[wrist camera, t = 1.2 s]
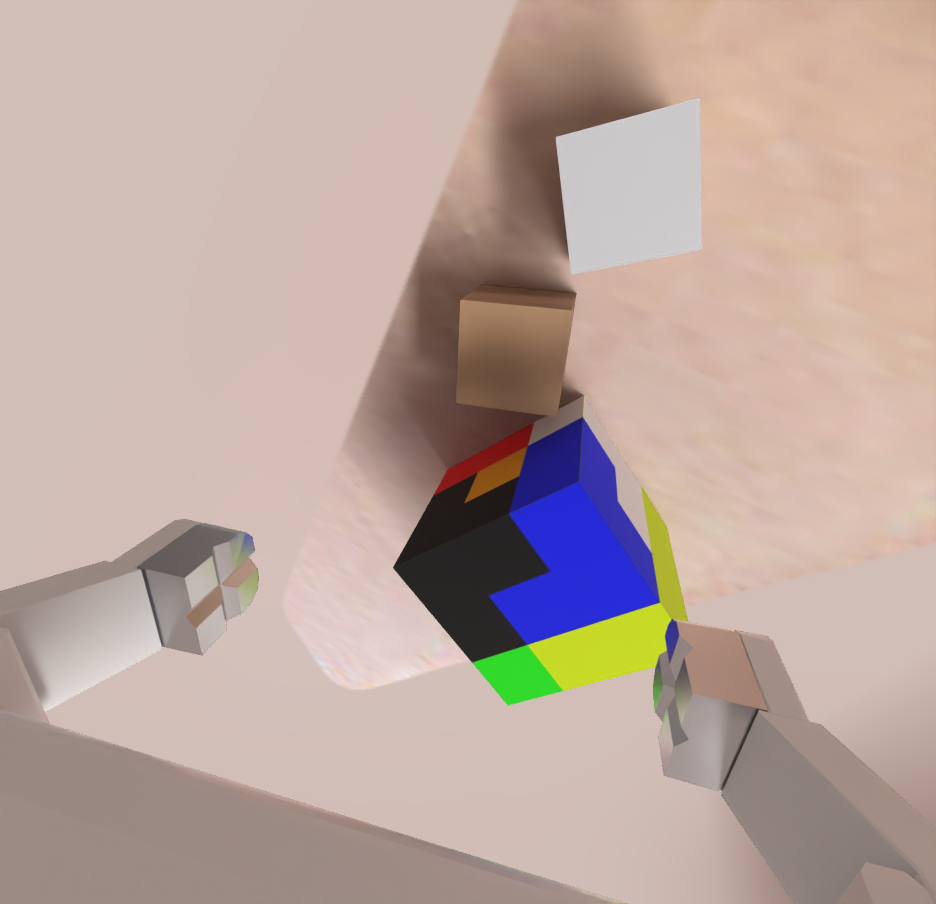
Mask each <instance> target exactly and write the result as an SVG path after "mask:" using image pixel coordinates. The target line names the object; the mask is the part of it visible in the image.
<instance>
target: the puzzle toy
mask: <svg viewBox="0 0 936 904" xmlns="http://www.w3.org/2000/svg"><path fill="white" fill-rule="evenodd" d="M393 568H394V570H395V571H396V572H397V573H398V574H399V576H400V577H401V578H402V579H403V580H404V582H405V583H406V584H407V585H408V586H409V588H410V589H411V590H412V591H413V592H414V594H415V595H416V596H417V597H418V598H419V600H420V601H421V602H422V603H423V604H424V605H425V607H426V608H427V609H428V610H429V611H430V613H431V614H432V615H433V616H434V617H435V619H436V620H437V621H438V622H439V623H440V625H441V626H442V627H443V628H444V629H445V631H446V632H447V633H448V634H449V635H450V637H451V638H452V639H453V640H454V641H455V643H456V644H457V645H458V646H459V647H460V649H461V650H462V651H463V652H464V653H465V654H466V656H467V657H468V658H469V659H470V660H471V662H472V663H473V664H474V665H475V666H476V668H477V669H478V670H479V671H480V672H481V674H482V675H483V676H484V677H485V678H486V680H487V681H488V682H489V683H490V684H491V686H492V687H493V688H494V689H495V690H496V692H497V693H498V694H499V695H500V696H501V698H502V699H503V700H504V701H505V702H506V703H507V704H508V705H511V704H515V703H519V702H522V701H526V700H530V699H534V698H538V697H542V696H545V695H549V694H553V693H557V692H561V691H565V690H569V689H572V688H576V687H580V686H584V685H588V684H591V683H595V682H599V681H603V680H606V679H610V678H614V677H618V676H622V675H626V674H630V673H633V672H637V671H641V670H645V669H648V668H653V667H656V664H657V661H658V657H659V655H660V654H662V653H663V652H665V651H667V647H666V641H665V633H666V630H667V627H668V624H669V623H670V621H671V620H672V619H676V620H681V621H686V622H688V620H687V615H686V610H685V606H684V601H683V597H682V593H681V588H680V584H679V579H678V575H677V570H676V566H675V561H674V557H673V553H672V548H671V544H670V539H669V535H668V530H667V527H666V525H665V523H664V522H663V520H662V519H661V517H660V515H659V514H658V512H657V511H656V509H655V508H654V506H653V504H652V503H651V501H650V500H649V498H648V496H647V495H646V493H645V492H644V490H643V488H642V487H641V485H640V484H639V482H638V480H637V479H636V477H635V476H634V474H633V472H632V471H631V469H630V468H629V466H628V464H627V463H626V461H625V460H624V458H623V456H622V455H621V453H620V452H619V450H618V448H617V447H616V445H615V444H614V442H613V441H612V439H611V437H610V436H609V434H608V433H607V431H606V429H605V428H604V426H603V425H602V423H601V421H600V420H599V418H598V417H597V415H596V413H595V412H594V410H593V409H592V407H591V405H590V404H589V402H588V401H587V399H586V397H585V396H582V397H580V398H578V399H576V400H574V401H573V402H571V403H569V404H567V405H565V406H564V407H562V408H560V409H558V413H557V417H553V416H545V417H543V418H542V419H540V420H538V421H536V422H534V423H532V424H531V425H529V426H527V427H525V428H523V429H522V430H520V431H518V432H516V433H514V434H512V435H511V436H509V437H507V438H505V439H503V440H501V441H500V442H498V443H496V444H494V445H492V446H490V447H489V448H487V449H485V450H483V451H481V452H480V453H478V454H476V455H474V456H472V457H470V458H469V459H467V460H465V461H463V462H461V463H459V464H458V465H456V466H454V467H452V468H450V469H449V470H448V471H447V472H446V474H445V476H444V478H443V479H442V481H441V483H440V485H439V487H438V488H437V490H436V492H435V494H434V495H433V497H432V499H431V501H430V503H429V504H428V506H427V508H426V510H425V512H424V513H423V515H422V517H421V519H420V520H419V522H418V524H417V526H416V528H415V529H414V531H413V533H412V535H411V536H410V538H409V540H408V542H407V544H406V545H405V547H404V549H403V551H402V553H401V554H400V556H399V558H398V560H397V561H396V563H395V565H394V567H393Z"/></svg>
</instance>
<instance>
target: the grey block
mask: <svg viewBox="0 0 936 904" xmlns="http://www.w3.org/2000/svg"><path fill="white" fill-rule="evenodd" d="M556 146H557V155H558V163H559V172H560V181H561V190H562V199H563V208H564V216H565V225H566V234H567V243H568V252H569V260H570V269H571V275H572V274H577V273H583V272H588V271H593V270H599V269H604V268H609V267H614V266H620V265H625V264H630V263H635V262H641V261H646V260H651V259H656V258H662V257H667V256H672V255H678V254H683V253H688V252H693V251H699V250H702V246H701V154H700V98H697V99H693V100H689V101H686V102H682V103H678V104H675V105H671V106H667V107H664V108H660V109H657V110H653V111H649V112H646V113H642V114H638V115H635V116H631V117H627V118H624V119H620V120H616V121H613V122H609V123H605V124H602V125H598V126H594V127H591V128H587V129H584V130H580V131H576V132H573V133H569V134H565V135H562V136H558V137H556Z"/></svg>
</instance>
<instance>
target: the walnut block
mask: <svg viewBox="0 0 936 904" xmlns="http://www.w3.org/2000/svg"><path fill="white" fill-rule="evenodd" d="M575 299H576V293H569V292H558V291H547V290H536V289H525V288H514V287H503V286H492V285H481V286H480V287H478V288H477V289H475V290H474V291H472V292H471V293H469V294H468V295H466V296H465V297H463V298H462V299H461V300H460V317H459V340H458V363H457V386H456V403H457V404H464V405H472V406H479V407H487V408H494V409H501V410H509V411H516V412H523V413H531V414H538V415H545V416H553V417H557V413H558V408H559V402H560V397H561V391H562V386H563V379H564V372H565V366H566V359H567V352H568V346H569V339H570V332H571V325H572V319H573V312H574V305H575Z"/></svg>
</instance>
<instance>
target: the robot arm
mask: <svg viewBox="0 0 936 904" xmlns="http://www.w3.org/2000/svg"><path fill="white" fill-rule="evenodd" d="M254 551H255V548H254V543H253V538H252V536H250V535H249V534H247V533H246V532H242V531H237V530H233V529H228V528H224V527H220V526H215V525H211V524H206V523H201V522H196V521H192V520H187V519H180V520H175V521H173V522H172V523H170V524H168V525H167V526H166V527H164V528H162V529H161V530H159V531H158V532H156V533H155V534H153V535H152V536H150V537H149V538H147V539H146V540H144V541H143V542H141V543H140V544H138V545H137V546H135V547H134V548H132V549H130V550H129V551H128V552H126V553H124V554H123V555H121V556H120V557H118V558H117V559H115V560H114V561H113V562H107V561H102V562H99V563H96V564H92V565H89V566H85V567H82V568H78V569H75V570H72V571H68V572H64V573H61V574H57V575H54V576H51V577H47V578H44V579H40V580H37V581H34V582H30V583H27V584H23V585H20V586H16V587H13V588H9V589H6V590H3V591H0V904H627V903H623V902H620V901H617V900H614V899H611V898H607V897H604V896H601V895H598V894H594V893H591V892H588V891H585V890H581V889H578V888H575V887H572V886H568V885H566V884H562V883H559V882H556V881H553V880H549V879H546V878H543V877H540V876H536V875H533V874H530V873H527V872H523V871H520V870H517V869H514V868H511V867H507V866H504V865H501V864H498V863H495V862H491V861H488V860H485V859H482V858H479V857H475V856H472V855H469V854H466V853H462V852H459V851H456V850H453V849H449V848H446V847H443V846H440V845H437V844H434V843H430V842H427V841H424V840H420V839H417V838H414V837H411V836H408V835H404V834H401V833H398V832H395V831H392V830H388V829H385V828H382V827H379V826H376V825H372V824H369V823H366V822H363V821H359V820H356V819H353V818H350V817H346V816H343V815H340V814H337V813H334V812H330V811H327V810H324V809H321V808H317V807H314V806H311V805H308V804H305V803H301V802H298V801H295V800H292V799H289V798H285V797H282V796H279V795H276V794H273V793H269V792H266V791H263V790H260V789H256V788H253V787H250V786H247V785H244V784H240V783H237V782H234V781H230V780H227V779H224V778H221V777H217V776H215V775H212V774H208V773H205V772H202V771H199V770H195V769H192V768H189V767H185V766H183V765H179V764H176V763H173V762H170V761H167V760H163V759H160V758H157V757H154V756H150V755H147V754H144V753H141V752H138V751H134V750H131V749H128V748H125V747H121V746H118V745H115V744H112V743H109V742H105V741H102V740H99V739H96V738H93V737H90V736H86V735H83V734H80V733H76V732H73V731H70V730H67V729H64V728H61V727H57V726H54V725H51V724H50V723H49V721H48V719H47V716H46V714H45V712H46V711H48V710H49V709H51V708H53V707H55V706H57V705H59V704H61V703H62V702H64V701H66V700H68V699H70V698H72V697H74V696H76V695H77V694H79V693H81V692H83V691H85V690H86V689H89V688H90V687H92V686H94V685H96V684H98V683H100V682H102V681H103V680H105V679H107V678H109V677H111V676H113V675H115V674H116V673H118V672H120V671H122V670H124V669H126V668H128V667H130V666H132V665H133V664H135V663H137V662H139V661H141V660H143V659H144V658H146V657H148V656H150V655H152V654H154V653H156V652H158V651H159V650H161V649H162V647H167V648H171V649H176V650H180V651H184V652H189V653H194V654H198V655H203V654H204V653H205V652H206V651H207V650H208V649H209V648H210V647H211V646H212V644H214V643H215V642H216V640H217V639H218V638H219V637H220V636H221V635H222V634H223V633H224V632H225V631H226V629H227V620H229V619H231V618H233V617H236V616H238V615H240V614H242V613H243V612H244V611H245V610H246V609H247V607H248V606H249V605H250V604H251V602H252V600H253V598H254V596H255V594H256V592H257V589H258V581H259V576H258V568H257V567H256V566H255V564H254V563H253V562H252V560H251V559H250V557H251V555H252V554H253V553H254ZM665 641H666V647H667V651H665V652H663V653H662V654H660V655H659V657H658V661H657V664H656V668H655V675H654V683H653V696H654V697H653V698H654V707H655V713H656V714H657V715H658V716H659V718H660V719H661V720H662V722H663V723H662V726H661V729H660V732H659V736H658V738H659V745H660V753H661V760H662V767H663V773H664V776H667V777H670V778H674V779H677V780H681V781H684V782H688V783H691V784H695V785H698V786H701V787H705V788H709V789H712V790H716V791H719V792H722V794H721V796H722V797H723V799H724V800H725V802H726V803H727V805H728V806H729V807H730V809H731V811H732V812H733V814H734V815H735V817H736V818H737V819H738V821H739V823H740V824H741V826H742V827H743V828H744V830H745V832H746V833H747V834H748V836H749V837H750V839H751V840H752V842H753V843H754V845H755V846H756V848H757V849H758V851H759V852H760V854H761V855H762V857H763V858H764V860H765V861H766V863H767V864H768V866H769V867H770V869H771V870H772V872H773V873H774V875H775V876H776V877H777V879H778V880H779V882H780V884H781V885H782V887H783V888H784V890H785V891H786V893H787V894H788V895H789V897H790V898H791V900H792V901H793V903H794V904H936V827H935V826H934V825H933V824H932V823H930V821H928V820H927V819H926V818H925V817H924V816H923V815H922V814H921V813H919V812H918V811H917V810H916V809H915V808H914V807H913V806H912V805H910V804H909V803H908V802H907V801H906V800H905V799H904V798H903V797H902V796H900V795H899V794H898V793H897V792H896V791H895V790H894V789H893V788H892V787H890V786H889V785H888V784H887V783H886V782H885V781H884V780H883V779H881V778H880V777H879V776H878V775H877V774H876V773H875V772H874V771H873V770H871V769H870V768H869V767H868V766H867V765H866V764H865V763H864V762H862V761H861V760H860V759H859V758H858V757H857V756H856V755H855V754H854V753H852V752H851V751H850V750H849V749H848V748H847V747H846V746H845V745H843V744H842V743H841V742H840V741H839V740H838V739H837V738H836V737H835V736H833V735H832V734H831V733H830V732H829V731H828V730H827V729H826V728H824V727H823V726H822V725H821V724H817V723H813V722H810V720H809V718H808V716H807V714H806V712H805V709H804V707H803V705H802V703H801V701H800V699H799V697H798V694H797V692H796V690H795V688H794V686H793V684H792V681H791V679H790V677H789V675H788V673H787V670H786V668H785V666H784V664H783V662H782V660H781V658H780V655H779V653H778V651H777V649H776V647H775V645H774V642H773V641H772V640H771V639H770V638H769V637H768V636H764V635H759V634H753V633H748V632H742V631H736V630H735V631H732V630H727V629H722V628H717V627H712V626H706V625H702V624H696V623H691V622H686V621H681V620H676V619H672V620H671V621H670V623H669V624H668V627H667V630H666V633H665Z"/></svg>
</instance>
